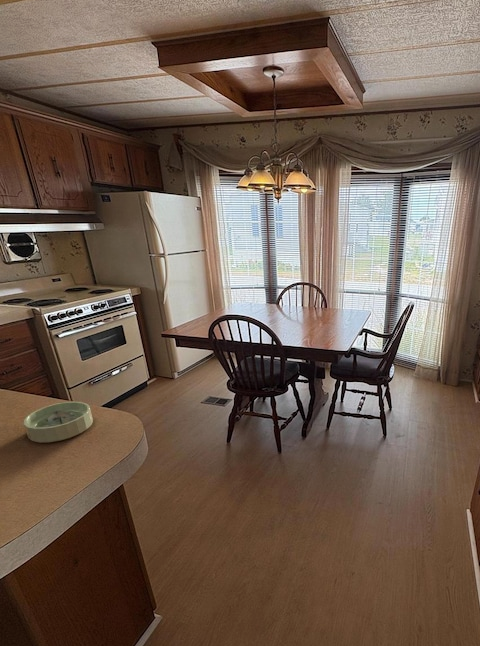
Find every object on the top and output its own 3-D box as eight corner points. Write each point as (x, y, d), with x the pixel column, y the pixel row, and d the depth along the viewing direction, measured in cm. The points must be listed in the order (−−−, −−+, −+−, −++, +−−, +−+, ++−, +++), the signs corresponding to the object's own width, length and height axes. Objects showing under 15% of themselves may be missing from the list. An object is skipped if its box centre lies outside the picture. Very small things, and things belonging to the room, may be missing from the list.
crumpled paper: (79, 426, 100) (73, 405, 97) (44, 434, 95) (37, 413, 93) (77, 419, 103) (72, 399, 100) (44, 427, 99) (37, 406, 96)
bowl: (19, 448, 90) (13, 432, 88) (39, 420, 103) (34, 405, 101) (87, 438, 96) (82, 423, 94) (98, 412, 108) (94, 398, 107)
